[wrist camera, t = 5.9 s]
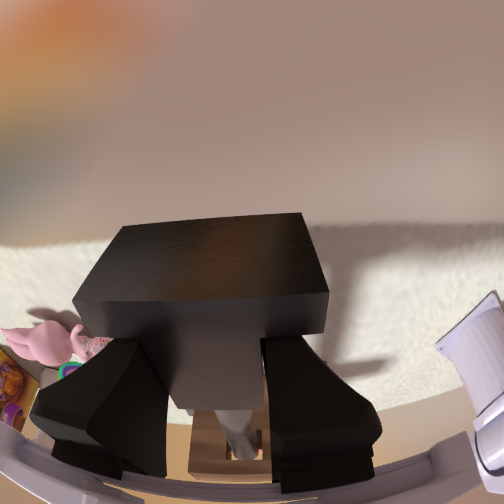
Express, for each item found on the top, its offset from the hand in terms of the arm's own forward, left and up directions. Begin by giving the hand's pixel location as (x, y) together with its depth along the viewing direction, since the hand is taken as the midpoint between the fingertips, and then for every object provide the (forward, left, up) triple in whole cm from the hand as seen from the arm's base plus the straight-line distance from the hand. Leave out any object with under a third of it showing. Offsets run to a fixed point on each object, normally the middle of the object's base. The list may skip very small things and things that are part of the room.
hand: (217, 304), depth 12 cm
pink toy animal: (+7, +16, -6) cm, 18 cm away
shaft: (-4, +4, -1) cm, 6 cm away
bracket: (-9, +11, -5) cm, 15 cm away
